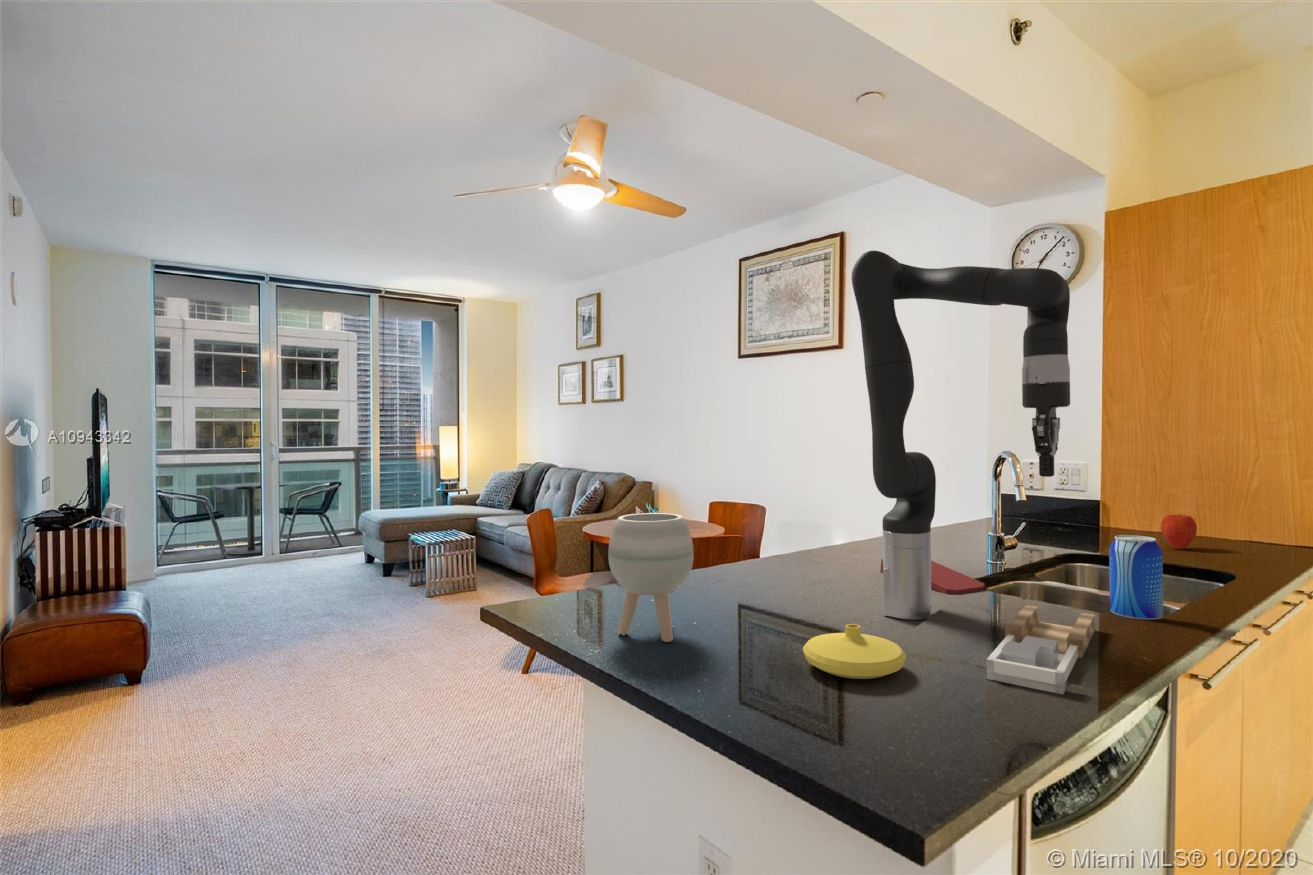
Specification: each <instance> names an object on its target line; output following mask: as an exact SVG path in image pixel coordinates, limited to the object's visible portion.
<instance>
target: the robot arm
mask: <svg viewBox="0 0 1313 875" xmlns="http://www.w3.org/2000/svg"><path fill="white" fill-rule="evenodd" d="M851 269H852V270H851V276H850V277H851V284H852V289H853V294H854V298H855V302H856V306H857V310H858V315H859V322H860V328H861V329H860V330H861V339H862V340H861V341H862V349H863V358H864V359H863V360H864V361H863V362H864V370H865V379H866V387H867V393H868V398H869V411H870V412H869V413H870V421H871V436H872V437H871V439H872V444H871V446H872V447H871V448H872V454H871V455H872V474H873V481H874V484H875V486H876V488H877V490H878V492H879V493H880V494H881V495H882V496H884V497H885V498H888V499H896V501H895V503H894V506H893V507H892V509H891V510H890V511H888V512H887V513H886V514H885V515H884V516H883V517H882V559H883V573H882V577H883V579H882V582H883V583H882V584H883V585H882V586H883V589H882V590H883V593H882V594H883V616H886V617H892V618H895V619H896V618H897V619H902V620H911V621H913V620H915V621H917V620H918V621H919V620H920V621H921V620H926V619H929V618H931V617H932V615H933V604H932V602H933V600H932V599H933V598H932V597H933V596H932V595H933V594H932V590H933V589H932V588H931V561H932V542H931V541H932V539H931V538H932V534H931V526H932V522H933V519H934V517H935V510H936V489H937V483H936V482H937V481H936V480H937V478H936V477H937V476H936V471H935V467H934V466H935V465H934V464H933V462H932V460H931V459H930V458H929V456H927V455H926V454H924V453H923V452H917V451H908V452H906V447H905V438H904V425H905V420H906V416H907V414H908V413H907V412H908V411H909V407H910V404H911V401H912V399H913V395H914V391H915V377H914V371H913V370H914V369H913V363H912V356H911V352H910V349H909V346H908V343H907V340H906V338H905V335H904V333H903V331H902V328H901V325H900V323H899V320H898V316H897V314H896V308H895V301H896V300H911V299H912V300H915V299H917V300H919V299H920V300H921V299H922V300H923V299H924V300H936V301H937V300H938V301H947V302H953V303H963V304H972V305H982V306H993V307H995V306H1001V305H1009V306H1017V307H1018V306H1019V307H1024V308H1025V307H1026V308H1027V310H1026V311H1027V313H1026V314H1027V319H1026V320H1027V327H1026V328H1025V329H1024V332H1023V338H1022V340H1023V342H1022V350H1023V351H1022V352H1023V353H1022V354H1023V359H1022V362H1023V363H1022V368H1021V388H1022V390H1021V392H1022V393H1021V394H1022V398H1021V399H1022V401H1021V402H1022V403H1021V404H1022V407H1023V408H1025V409H1035V417H1032V418H1031V431H1032V435H1033V436H1032V437H1033V442H1034V448H1035V449H1034V451H1035V453H1036V455H1037V456H1038V465H1039V466H1038V470H1039V471H1038V472H1039V473H1038V474H1039V476H1040V477H1042V478H1043V477H1047V478H1048V477H1049V478H1050V477H1054V476H1055V456H1056V454H1057V451H1058V449H1059V447H1058V445H1059V441H1060V440H1059V438H1060V429H1061V417H1057V409H1058V408H1066V407H1067V408H1068V407H1069V406H1070V405H1071V373H1070V372H1071V369H1070V362H1069V344H1068V343H1069V342H1068V340H1069V339H1068V338H1069V336H1068V322H1069V312H1070V302H1071V301H1070V300H1071V296H1070V293H1071V292H1070V286H1069V283H1068V282H1067V280H1066V279H1065V278H1064V277H1063V276H1062V275H1061V274H1059V273H1058V272H1057V271H1055V270H1052V269H1048V268H1040V267H1037V268H1036V267H1024V268H1008V269H1007V268H1001V267H1000V268H999V267H991V266H990V267H988V266H986V267H985V266H974V265H973V266H970V265H969V266H968V265H967V266H966V265H963V266H951V267H941V268H929V267H928V268H925V267H918V266H913V265H910V264H909V265H908V264H906V263H902V262H899V261H898V260H896V259H895V258H893V257H892V256H890V254H887V253H885V252H883V251H879V250H868V251H865V252H863V253H862V254H861V255H860V256H859V257H858V258H856V261H855V262H854V264H853V267H852V268H851Z"/></svg>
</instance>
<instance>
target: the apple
mask: <svg viewBox="0 0 1313 875" xmlns="http://www.w3.org/2000/svg"><path fill="white" fill-rule="evenodd" d="M1197 530H1198V526H1197V522H1196V521H1195V519H1194V518H1193V517H1192V516H1190V515H1184V514H1183V515H1181V514H1180V513H1179V514H1169V515H1166V516H1164V517H1163V519H1162V520H1161V524H1160V531H1161V534H1162V535H1163V538H1164V539H1165V541H1166V542H1168V544H1169V546H1170V547H1172V548H1173V549H1174V550H1175V549H1177V550H1185V549H1186V548H1187V547H1188V546H1190V544H1192V542H1193V541H1194V539H1195V538H1196V535H1197Z"/></svg>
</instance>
